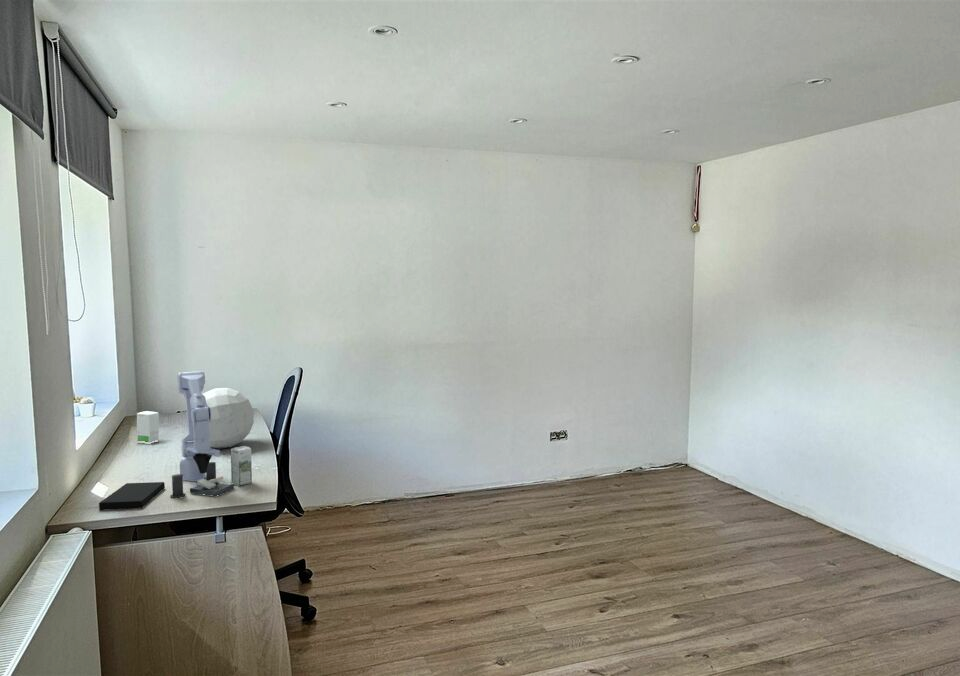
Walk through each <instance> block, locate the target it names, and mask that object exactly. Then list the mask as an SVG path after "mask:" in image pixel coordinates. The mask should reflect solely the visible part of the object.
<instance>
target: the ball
mask: <svg viewBox="0 0 960 676" xmlns="http://www.w3.org/2000/svg"><path fill="white" fill-rule="evenodd" d="M202 394H203V395H204V396H205V399H206V403H207V405H208V406H209V407H210V410H211V420H210V421H209V422H210V448H212V449H215V448H218V449H228V448H227V447H230V448H231V447H235V446H236V445H238V444H240V443H242V442H243V441H244V439H246V438H247V437H248V435H249V434H250V433H251V430H252V427H253V425H254V423H255V422H254V421H255V419H254V415H255V414H254V413H255V411H254V410H255V409H254V408H253V406H252V404H251V402H250V400H249V399H248V398H247V397H246V396H245V395H244V394H243V393H242V392H241V391H239V390H235V389H233V388H230V387H216V388H213V389H210V390H208V391H205V392H204V393H202Z"/></svg>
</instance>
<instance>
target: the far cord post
mask: <svg viewBox="0 0 960 676" xmlns="http://www.w3.org/2000/svg"><path fill="white" fill-rule="evenodd" d="M216 465H217V464H216V462H215V461H209V464H208V467H207V471H206V478H205V480H207V481H209V480H212V479H216V478H217V468H216V467H217V466H216Z"/></svg>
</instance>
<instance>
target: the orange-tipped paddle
mask: <svg viewBox="0 0 960 676" xmlns="http://www.w3.org/2000/svg"><path fill="white" fill-rule="evenodd" d="M223 480H224V476H219V477H216V479H212V480H209V481H210V482H212V483H214V482H220V481H223Z"/></svg>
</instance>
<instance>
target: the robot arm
mask: <svg viewBox="0 0 960 676" xmlns="http://www.w3.org/2000/svg"><path fill="white" fill-rule="evenodd" d="M205 384H206V375H205V371H203V370H200V371H199V370H198V371H184V372H183V371H182V372H181V371H179V372H178V374H177V385H178V388H177V389H178V391H179V392H178V393H179V394H182V395H183V396H184V399H185V409H186V410H185V411H186V422H187V434H186V435H184V437H182V440H181V456H182V458H181V460H180V462H179V474H182V475H183V481H187V482H196V481H199V480H201V479H204V478H205V479H206V471H207V467H208V464H209V462H211V459H212V457H218V456H220V455H221V451H220V449H215V448H212V447H210V422H209V421H210V420H211V410H210V407H209V406H208V405H207V403H206V399H205V396H204V395H203V393H202V392H203V390H204V389H205Z"/></svg>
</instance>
